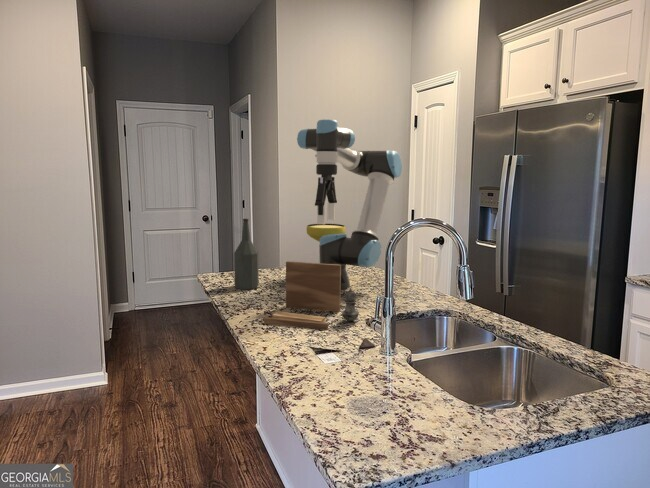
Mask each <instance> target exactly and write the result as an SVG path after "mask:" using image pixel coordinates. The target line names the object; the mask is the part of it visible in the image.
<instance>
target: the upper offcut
mask: <svg viewBox="0 0 650 488" xmlns="http://www.w3.org/2000/svg"><path fill="white" fill-rule="evenodd" d="M271 318H282V319H292V320H303V321H313V322H323V323H326V320H327V319H326V317H325V316H319V315H310V314H302V313H296V312H295V313H294V312H287V311H280V310H279V311H276V312H274V313H273V314H272V317H271Z"/></svg>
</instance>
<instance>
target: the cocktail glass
mask: <svg viewBox="0 0 650 488" xmlns="http://www.w3.org/2000/svg"><path fill="white" fill-rule="evenodd" d="M341 233H344V234H346V226H345V225H343V224H339V223H325V224H317V223H312V224H308V225H306V234H307V235H308V237H310V238H312V239H313V240H315V241H317V242H318V243H320V238H321V237H322V236H324V235H330V234H341Z"/></svg>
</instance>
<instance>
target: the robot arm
mask: <svg viewBox="0 0 650 488" xmlns="http://www.w3.org/2000/svg"><path fill="white" fill-rule="evenodd" d="M338 123H339V122H338V121H337V120H336V119H319V120H318V121H316V128H305V129H301V130H299V131H298V132H297V136H296V141H297V145H298V147H299V148H300V149H303V150H304V149H305V150H308V149H311V150H312V151H314V152H316V154H315V155H314V156H315V158H316V163H317V164H316V168H315V170H316V171H315V173H316V175H318V176H319V175H320V177H318V178H317V189H316V196H315V197H316V198H315V203H314V207H317V209H316V211H317V212H316V216H317V217H316V218H317V219H316V224H326V217H327V221H335V217H336V215H335V213H336V211H335V207H336V206H335V205H336V204H337V202H338V200H337V193H336V185H335V183H336V182H335V177H334V176H336V175H338V165H337V163H339V164H340V165H341V167H342V168H343V169H345V170H346V171H348V172H351V173H353V174H355V175H359V176H360V177H367V179H368V180H369V183H368V187H367V190H366V194H365V197H364V201H363V205H362V208H361V212H360V213H361V214H360V216H359V220H358V224H357V226H356V229H355V230H353V231H352V232H351V235H350V237H348V235H347V233H345V234H344V233H341V234H330V235H324V236H322V237H321V238H320V242H319V246H318V247H319V263H321V264H337V265H341V290H346V289H350V288H351V287H350V286H351V284H350V283H351V282H350V277H349V275H348V272H347V271H348V270H347V266H351V267H360V268H372V267H374V266H375V265H377V264H378V262H379V260H380V257H381V255H382V244H381V242H380V241H379V237H378V235H377V233H378V229H379V225H380V222H381V221H380V220H381V217H382V213H383V211H384V207H385V206H384V205H385V202H386V198H387V196H388V195H387V194H388V190H389V187H390V186H391V185H392V184H394V181H395V178H396V179H397V178H400V176H401V174H402V167H403V165H402V159H401V156H400V154H399V153H398V151H396V150H389V149H387V150H357V149H355V148H352V147H353V145H354V144H355V141H356V136H355V132H353V130H352V129H349V128H347V127H339V125H338ZM326 200H327V204H326ZM325 204H326V205H325ZM326 206H327V207H326ZM326 210H327V211H326ZM326 213H327V215H326Z"/></svg>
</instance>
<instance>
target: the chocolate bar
mask: <svg viewBox="0 0 650 488" xmlns="http://www.w3.org/2000/svg"><path fill="white" fill-rule="evenodd" d="M373 347H375V348H376V345H375V344H373V343H372V342H371V341H370V340H368V338H367V337H364V339H363V340H362V341H361V344H360V345H359V347H358V348H357V349H358V350H367V349H373ZM309 348H310V349H311V351H313V353H314V354H315V355H327V354H334V353H340V352H341V353H342V352H343V350H339V349H333V348H331V349H330V348H321V347H312V346H309Z"/></svg>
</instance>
